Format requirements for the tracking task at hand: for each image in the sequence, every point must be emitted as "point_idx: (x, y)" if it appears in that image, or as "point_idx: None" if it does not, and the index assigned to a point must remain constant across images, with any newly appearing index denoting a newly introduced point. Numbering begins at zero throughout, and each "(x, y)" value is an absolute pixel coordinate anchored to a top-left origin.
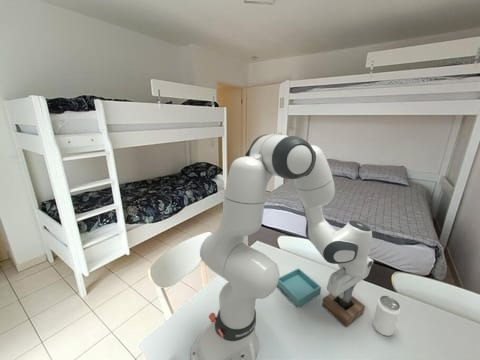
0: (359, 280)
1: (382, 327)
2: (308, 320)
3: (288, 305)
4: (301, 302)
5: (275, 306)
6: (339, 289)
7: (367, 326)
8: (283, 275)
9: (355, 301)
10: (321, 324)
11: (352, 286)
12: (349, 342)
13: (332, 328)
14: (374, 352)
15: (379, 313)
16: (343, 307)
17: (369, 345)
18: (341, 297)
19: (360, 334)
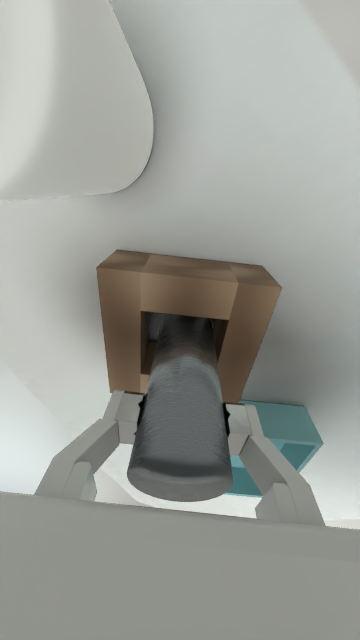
0: (8, 541)
1: (141, 84)
2: (333, 367)
3: (314, 423)
4: (295, 420)
5: (345, 438)
6: None
7: (168, 196)
8: (248, 496)
9: (120, 316)
10: (319, 334)
11: (108, 436)
12: (336, 214)
13: (309, 300)
14: (314, 68)
15: (109, 116)
16: (211, 334)
17: (284, 122)
18: (254, 412)
19: (248, 198)
